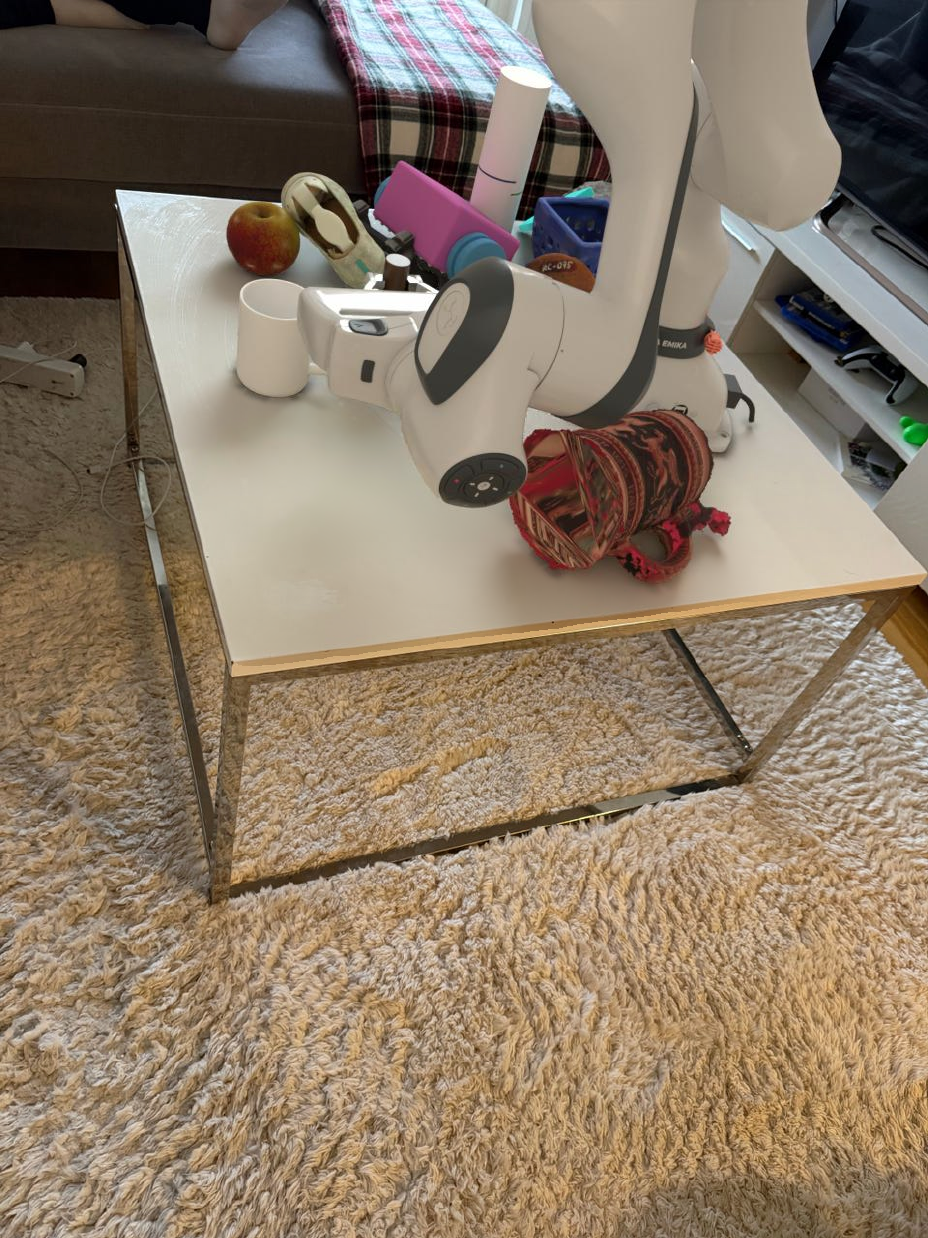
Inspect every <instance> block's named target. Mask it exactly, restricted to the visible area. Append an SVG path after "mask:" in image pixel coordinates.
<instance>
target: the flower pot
mask: <svg viewBox="0 0 928 1238" xmlns="http://www.w3.org/2000/svg"><path fill="white" fill-rule="evenodd" d="M535 204H536V205H535V209H534V213H533V216H534V219H533V227H532V231H531V239H532V240H531V243H532V253H533V260H534V259H535V258H537V257H539V256H542V255H546V254H550V253H562V254H565V255H568V256H570V257H575V258H577V259H578V260H580V261H581V262H582V263H583V264H585V265H586V266H587V267H588V269H589V270H590V271H591V272H592V274H593V276H594V278H595V279H596V274H597V269H598V263H599V258H600V253H601V247H602V242H603V237H604V232H605V226H606V221H607V216H608V210H609V205H610V200H608V199H606V198H592V197H589V198H587V197H562V196H542V197H539V198H538V199H537V201H536V203H535ZM568 217H570V219H569V220H568V221H567V218H568ZM592 220H594V226H593V227H592V228H590V229H588V223H589V222H590V221H592ZM576 222H580V225H579V227H575V224H576ZM600 230H601V232H600ZM583 235H584V237H583V238H582V236H583ZM598 240H599V242H597V241H598ZM530 262H531V261H527V262H525V267H526V266H527V265H528V264H529V263H530Z"/></svg>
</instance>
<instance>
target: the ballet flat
mask: <svg viewBox="0 0 928 1238" xmlns="http://www.w3.org/2000/svg"><path fill="white" fill-rule="evenodd" d="M280 195H281V196H280V201H281V207H282V208H283V209H285V210H286V211H287V212H288V213H289V214H290V215H291V216H292V218H293V219H294V221H295V223H296V225H297V228H298V230H299V235H302V236H303V237H304V238H306V239H307V240H308V241H309V242H311V244H312V245H313V246H314V247H316V249H317V250H318V251H319V252H320V254H321V255H322V256H323V257H324V258H325V259H326V261H328V262H329V265H330V266H331V267H332V270H334V271H335V273H336V274H337V275H338V277H339V278H340V279H341V281H342V282H344V284H345V285H347V286H349V287H351V288H352V289H364V287H365V278H366V273H367V272H372V273H382V274H383V270H384V264H385V254H384V252H383V251H382V249H381V248H380V247H379V246H378V245H377V244H376V243H375V241H374V240H373V238H372V237H371V236H370V235H369V234H368V232H367V231H366V229H365V228H364V226H363V224H362V222H361V221H360V220H359V218H358V216H357V214H356V211H355V209H354V207H353V205H352V203H353V202H352V201H351V199H350V197H349V195H348V193H347V192H346V191H345V189H344V188H343V187H342V186H341V185H339V184H338V183H337V182H335V180H333V179H331V178H329V177H328V176H325V175H323V174H320V173H315V172H310V171H309V172H308V171H307V172H299V173H296V174H294V175H293V176H291V177H290V178H289V179H288V180H287V182H285V184H284V186H283V188H282V191H281V194H280Z"/></svg>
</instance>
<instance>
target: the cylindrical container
mask: <svg viewBox="0 0 928 1238" xmlns="http://www.w3.org/2000/svg"><path fill="white" fill-rule="evenodd" d="M552 86H553V82H552V80H550V79H549V78H548V77H547V76H545V75H543V74H542V73H540V72H538V71H536V70H533V69H530V68H526V67H523V66H519V65H518V66H517V65H504V66H502V67H500V70H499V75H498V78H497V83H496V87H495V92H494V96H493V101H492V103H491V104H492V106H491V109H490V114H489V118H488V122H487V127H486V132H485V135H484V139H483V144H482V147H481V153H480V157H479V161H478V165H477V170H476V174H475V177H474V182H473V187H472V191H471V195H470V199H469V204H471V205H472V206H473V207H475V208H476V209H477V210H479V211H480V212H481V213H483V214H484V215H486V216H487V217H488V218H490V219H491V220H492V221H494V222H495V223H496V224H498V225H499V226H500V227H502V228H503V229H504V230H506V231H507V232H508V233H510V234H511V235H512V232H513V228H514V224H515V222H516V217H517V214H518V210H519V206H520V202H521V200H522V195H523V192H524V188H525V185H526V182H527V178H528V174H529V170H530V166H531V162H532V160H533V159H532V158H533V156H534V151H535V149H536V144H537V140H538V137H539V133H540V130H541V126H542V122H543V118H544V115H545V112H546V108H547V104H548V100H549V97H550V92H551V90H552Z"/></svg>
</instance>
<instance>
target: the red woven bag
mask: <svg viewBox="0 0 928 1238" xmlns="http://www.w3.org/2000/svg"><path fill="white" fill-rule="evenodd" d="M523 447H524V450H525V454H526V459H527V465H528V473H527V478H526V480H525V482H524V484H523V486H522V487H521V488H520V489H519V490H518V491H517V492H516V493H515V494H514V495H512V496H511V497H509V498H508V504H509V506H510V510H511V511H512V513H511V514H512V516H513V517H512V518H513V521H514V525H516V527H517V529H518V530H519V533H520V536H521V537H522V539H523V540H525V541H526V542H527V544H528V545H529V547H530V548H531V549H532V550H533V552H534V553H535V554H536V555H537V556H538V557H539V558H540V559H541V560H545V561H547V562H548V563H549V568H550V570H556V569H561V570H562V571H565V570H572V571H575V570H576V569H581V570H588V569H589V568H590V567H593V565H594V564H595V563H596V562H597V561H600V559H602V560H604V558H605V557H606V555H610V556H613V557H614V558H615V559H616V560H617V561H618V562H619V564H620V565H621V567H623V568H624V569H625V570H626V571H627V573H631V575H632V577H633V578H636V579H637V580H639V581H645V582H648V583H655V584H657V583H663V582H666V581H669V580H670V579H673V578H675V577H676V576H677V575H678V574H680V573H681V572H683V570H684V569H685V568H686V567H687V566H688V565H689V563H690V561H691V559H692V558H693V555H694V553H693V549H694V545H693V538H692V534H693V532H695V531H698V532H699V531H703V529H705V528H707V526H708V527H709V529H710V531H711V532H712V533H713V534H719V535H720V536H721V537H724V536H726V535H728V533H729V529H730V525H731V524H732V522H731V521H730V520H731V519H732V517H731V516H730V515H729V513H728V512H727V511H725V510H723V511H721V510H718V509H717V507H713V506H705V505H704V504H702V502H701V500H700V499H701V495H702V494H703V493H704V491H705V489H706V487H707V486H708V482H710V480H711V478H712V477H711V476H712V475H713V471H714V466H715V461H714V457H713V452H712V450H711V449H710V448H709V445H708V437H707V436H706V435H705V433H704V431H703V430H701V428H700V427H698V426H697V424H696V423H695V422H694V420H693V419H691V418H690V417H688V416H687V415H685V414H684V413H681V412H679V411H676V410H666V409H658V410H655V411H652V412H651V411H637V412H632V413H629V414H627V415H625V416H624V417H623V418H621V419H620V420H618V421H616V422H615V423H613V424H611V425H609V426H607V427H605V428H602V429H597V430H588V429H584V428H579V429H573V430H572V431H571V429H564V428H561V429H559V430H558V429H551V428H537V429H536V428H534V430H533V431H532V432H531V434H529V435H527V436H526V438H525V439H524V440H523ZM649 529H651V530H652V531H653V532H654V533H656V535H657V536H658V540H659V542H660V544H661V546H662V547H663V548H664V551H665V557H664V559H663V560H661V561H659V560H655V559H654V558H653V557H651V556H650V555H648V554H647V553H645V552H644V551H643V549H641V547H640V546H639V545H637V544H635V542H634V541H632V540H630V537H632V536H636V535H638V534H639V533H643V532H647V531H648V530H649Z"/></svg>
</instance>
